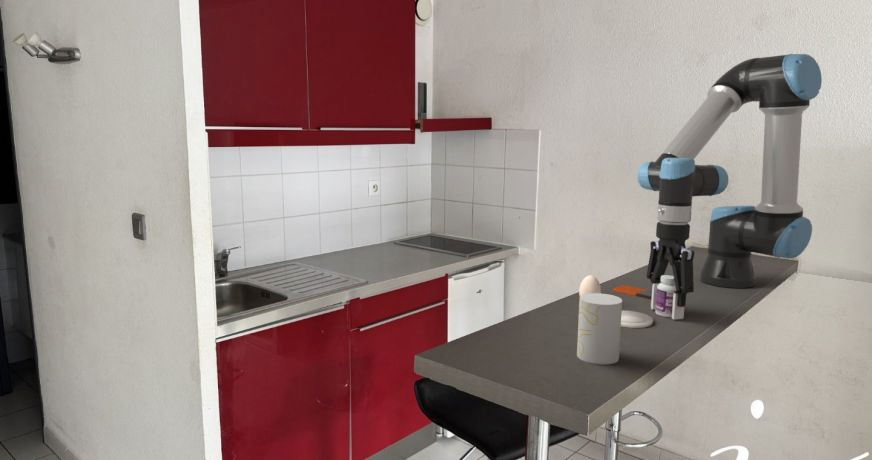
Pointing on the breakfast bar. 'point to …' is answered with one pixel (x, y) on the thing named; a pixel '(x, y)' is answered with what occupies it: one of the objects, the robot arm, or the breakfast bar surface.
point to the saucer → (635, 320)
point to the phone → (634, 291)
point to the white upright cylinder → (599, 328)
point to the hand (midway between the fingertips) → (666, 313)
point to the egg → (589, 285)
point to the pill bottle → (665, 296)
